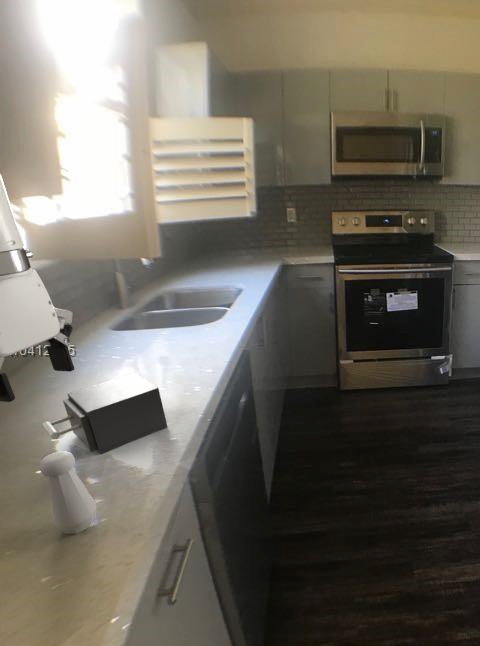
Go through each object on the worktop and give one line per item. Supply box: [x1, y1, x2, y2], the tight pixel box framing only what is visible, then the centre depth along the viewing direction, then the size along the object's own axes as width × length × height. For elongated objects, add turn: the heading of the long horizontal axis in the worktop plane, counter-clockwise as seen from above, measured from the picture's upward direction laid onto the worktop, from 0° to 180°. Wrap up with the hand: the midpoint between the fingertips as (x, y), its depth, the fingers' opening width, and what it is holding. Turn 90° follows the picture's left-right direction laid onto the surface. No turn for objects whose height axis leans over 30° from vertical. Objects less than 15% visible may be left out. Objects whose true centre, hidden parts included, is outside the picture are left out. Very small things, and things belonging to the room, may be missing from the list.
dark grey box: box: [66, 372, 168, 455], centre depth 98 cm, size 14×13×10 cm
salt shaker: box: [39, 450, 98, 535], centre depth 70 cm, size 6×6×13 cm
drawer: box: [41, 397, 98, 453], centre depth 95 cm, size 17×11×8 cm, turn 138°
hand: (36, 384), depth 65 cm, fingers open, 9 cm apart
